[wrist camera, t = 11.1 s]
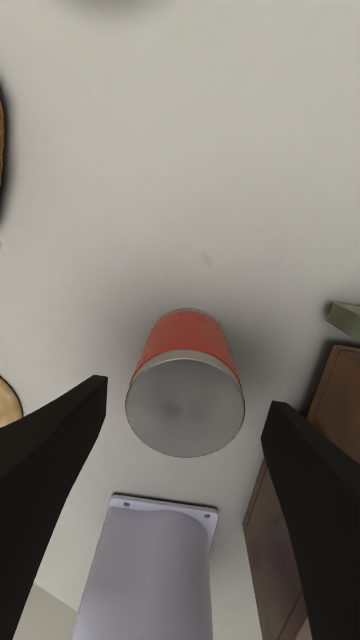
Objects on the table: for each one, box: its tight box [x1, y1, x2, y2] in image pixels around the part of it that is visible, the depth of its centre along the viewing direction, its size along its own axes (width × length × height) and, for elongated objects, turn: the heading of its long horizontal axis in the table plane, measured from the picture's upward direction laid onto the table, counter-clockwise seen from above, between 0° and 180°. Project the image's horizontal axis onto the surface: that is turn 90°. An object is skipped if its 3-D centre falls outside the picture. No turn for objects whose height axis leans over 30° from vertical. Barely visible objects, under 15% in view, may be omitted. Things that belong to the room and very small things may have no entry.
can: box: [125, 308, 245, 458], centre depth 14 cm, size 5×5×7 cm
